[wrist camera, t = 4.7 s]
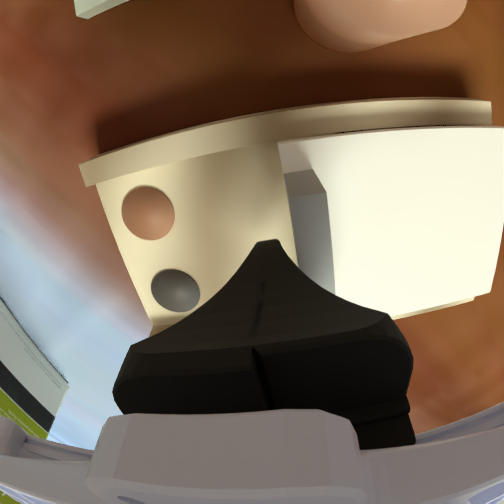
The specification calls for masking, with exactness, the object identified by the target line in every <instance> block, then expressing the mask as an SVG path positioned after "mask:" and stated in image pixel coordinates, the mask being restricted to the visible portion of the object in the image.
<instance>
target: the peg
mask: <svg viewBox="0 0 504 504" xmlns="http://www.w3.org/2000/svg"><path fill="white" fill-rule="evenodd" d="M466 3H467V0H294V12H295V16H296V19H297V21H298V23H299V25H300V26H301V28H302V29H303V30H304V32H305V33H306V34H307V35H308V36H309V37H310V38H311V39H312V40H314V41H315V42H316V43H318V44H320V45H321V46H323V47H325V48H327V49H330V50H333V51H336V52H341V53H360V52H364V51H367V50H370V49H373V48H376V47H379V46H382V45H385V44H388V43H391V42H395V41H398V40H401V39H405V38H408V37H412V36H415V35H419V34H423V33H427V32H431V31H435V30H438V29H442V28H445V27H447V26H449V25H451V24H452V23H453V22H455V21H456V20H457V19H458V18H459V17H460V16H461V14H462V13H463V11H464V9H465V6H466Z"/></svg>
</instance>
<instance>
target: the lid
mask: <svg viewBox="0 0 504 504" xmlns="http://www.w3.org/2000/svg"><path fill="white" fill-rule="evenodd" d="M278 148H279V153H280V159H281V164H282V170H283V176H284V182H285V188H286V193H287V199H288V206H289V212H290V218H291V224H292V231H293V237H294V244H295V250H296V257H297V264H298V267H299V269H301V270H302V271H303V272H304V273H305V274H306V275H307V276H308V277H309V278H310V279H312V280H313V281H314V282H315V283H317V284H318V285H319V286H321V287H322V288H324V289H326V290H327V291H329V292H331V293H333V294H335V295H336V296H338V297H341V298H343V299H345V300H347V301H350V302H352V303H355V304H357V305H360V306H363V307H367V308H371V309H374V310H378V311H381V312H385V313H388V314H389V315H390V316H395V315H400V314H405V313H409V312H414V311H418V310H423V309H427V308H431V307H435V306H440V305H444V304H448V303H452V302H456V301H459V300H463V299H467V298H471V297H474V296H478V295H482V294H485V293H489V292H490V290H491V286H492V282H493V277H494V273H495V268H496V264H497V259H498V253H499V248H500V242H501V236H502V230H503V223H504V127H503V126H431V127H410V128H394V129H381V130H370V131H359V132H349V133H340V134H332V135H324V136H316V137H309V138H302V139H295V140H289V141H282V142H278Z"/></svg>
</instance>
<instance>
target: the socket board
mask: <svg viewBox="0 0 504 504" xmlns="http://www.w3.org/2000/svg"><path fill="white" fill-rule="evenodd" d="M127 1H129V0H74V4H75V11H76V16H78V17H82V18H85V19H89V18H91V17H93V16H95V15H97V14H99V13H102V12H104V11H106V10H108V9H110V8H113V7H115V6H117V5H120V4H122V3H124V2H127Z"/></svg>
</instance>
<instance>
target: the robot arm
mask: <svg viewBox="0 0 504 504" xmlns="http://www.w3.org/2000/svg"><path fill="white" fill-rule="evenodd" d="M412 370H413V356H412V353H411V350H410V347H409V345H408V343H407V341H406V339H405V337H404V336H403V334H402V333H401V331H400V330H399V328H398V327H397V325H396V324H395V322H394V321H393V320H392V318H391V317H390V315H389V314H388V313H385V312H381V311H378V310H374V309H371V308H367V307H363V306H360V305H357V304H355V303H352V302H350V301H347V300H345V299H343V298H341V297H338V296H336V295H335V294H333V293H331V292H329V291H327V290H326V289H324V288H322V287H321V286H319V285H318V284H317V283H315V282H314V281H313V280H312V279H310V278H309V277H308V276H307V275H306V274H305V273H304V272H303V271H302V270H301V269H299V267H298V266H297V265H296V264H295V263H294V262H293V261H292V260H291V258H290V257H289V256H288V255H287V253H286V252H285V251H284V249H283V247H282V246H281V243H280V241H279V240H278V239H271V240H265V241H258V242H257V243H256V244H255V245H254V247H253V248H252V250H251V251H250V253H249V254H248V256H247V257H246V259H245V260H244V262H243V263H242V264H241V266H240V267H239V268H238V270H237V271H236V272H235V274H234V275H233V276H232V277H231V278H230V280H229V281H228V282H227V283H226V284H225V285H224V286H223V287H222V288H221V289H220V290H219V291H218V292H217V293H216V294H215V295H214V296H213V297H212V298H210V299H209V300H208V301H207V302H206V303H204V304H203V305H202V306H200V307H199V308H198V309H196V310H195V311H194V312H192V313H191V314H190V315H188V316H187V317H185V318H184V319H182V320H180V321H179V322H177V323H176V324H174V325H172V326H170V327H169V328H167V329H165V330H163V331H161V332H159V333H157V334H155V335H153V336H151V337H149V338H146V339H144V340H142V341H140V342H138V343H135V344H133V345H131V346H130V348H129V350H128V352H127V355H126V357H125V359H124V362H123V364H122V366H121V369H120V371H119V374H118V376H117V379H116V381H115V384H114V387H113V391H112V393H113V397H114V401H115V402H116V404H117V406H118V407H119V409H120V410H121V412H122V413H123V414H124V415H118V416H113V417H109V418H108V420H107V421H106V423H105V424H104V426H103V427H102V430H101V433H100V435H99V438H98V441H97V444H96V447H95V450H94V451H93V450H88V449H83V448H78V447H73V446H69V445H65V444H61V443H56V442H53V441H49V440H45V439H41V438H38V437H34V436H31V435H28V434H27V433H26V432H25V430H24V429H23V428H22V427H21V426H20V425H18V424H17V423H16V422H14V421H13V420H11V419H9V418H6V417H3V416H0V490H1V491H2V492H4V493H5V494H7V495H8V496H10V497H11V498H13V499H14V500H16V501H18V502H20V503H22V504H497V503H499V502H501V501H503V500H504V402H502V403H500V404H498V405H496V406H493V407H491V408H489V409H486V410H484V411H482V412H479V413H477V414H474V415H472V416H469V417H467V418H464V419H461V420H459V421H456V422H453V423H450V424H448V425H445V426H442V427H439V428H436V429H433V430H429V431H426V432H423V433H420V434H416V435H415V434H414V431H413V428H412V424H411V421H410V418H409V415H408V413H409V412H410V405H409V402H408V399H407V396H406V393H407V390H408V386H409V382H410V378H411V374H412Z"/></svg>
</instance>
